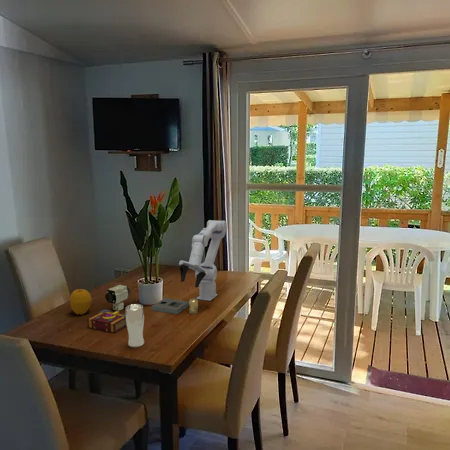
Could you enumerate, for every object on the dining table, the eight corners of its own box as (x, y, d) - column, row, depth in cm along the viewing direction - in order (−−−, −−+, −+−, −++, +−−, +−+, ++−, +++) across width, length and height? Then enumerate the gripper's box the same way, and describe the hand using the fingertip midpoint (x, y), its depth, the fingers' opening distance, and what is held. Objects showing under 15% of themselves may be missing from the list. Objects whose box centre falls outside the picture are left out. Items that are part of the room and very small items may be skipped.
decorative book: (115, 334, 165) (114, 322, 164) (85, 328, 171) (84, 317, 170) (132, 323, 175) (131, 313, 174) (103, 318, 181) (102, 307, 181)
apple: (96, 310, 191) (94, 286, 189) (84, 318, 181) (82, 293, 179) (78, 308, 193) (77, 285, 191) (66, 316, 184) (63, 291, 182)
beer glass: (138, 349, 151) (136, 311, 148) (123, 346, 153) (121, 309, 151) (148, 341, 157) (147, 305, 155) (133, 338, 160) (131, 303, 157)
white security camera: (105, 312, 187) (104, 288, 185) (124, 304, 197) (122, 281, 195) (114, 314, 185) (112, 290, 183) (132, 306, 194) (130, 283, 192)
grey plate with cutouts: (164, 301, 201) (164, 298, 200) (189, 305, 195) (189, 301, 195) (151, 310, 190) (151, 306, 189) (177, 314, 184) (177, 310, 184)
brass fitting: (191, 310, 189) (191, 298, 188) (199, 311, 187) (199, 299, 186) (187, 313, 185) (187, 300, 184) (195, 314, 184) (195, 302, 183)
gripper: (186, 249, 184) (179, 277, 177) (212, 261, 190) (207, 287, 183) (179, 253, 189) (172, 280, 183) (205, 264, 195) (199, 290, 189)
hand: (189, 284), depth 183 cm, fingers open, 7 cm apart
